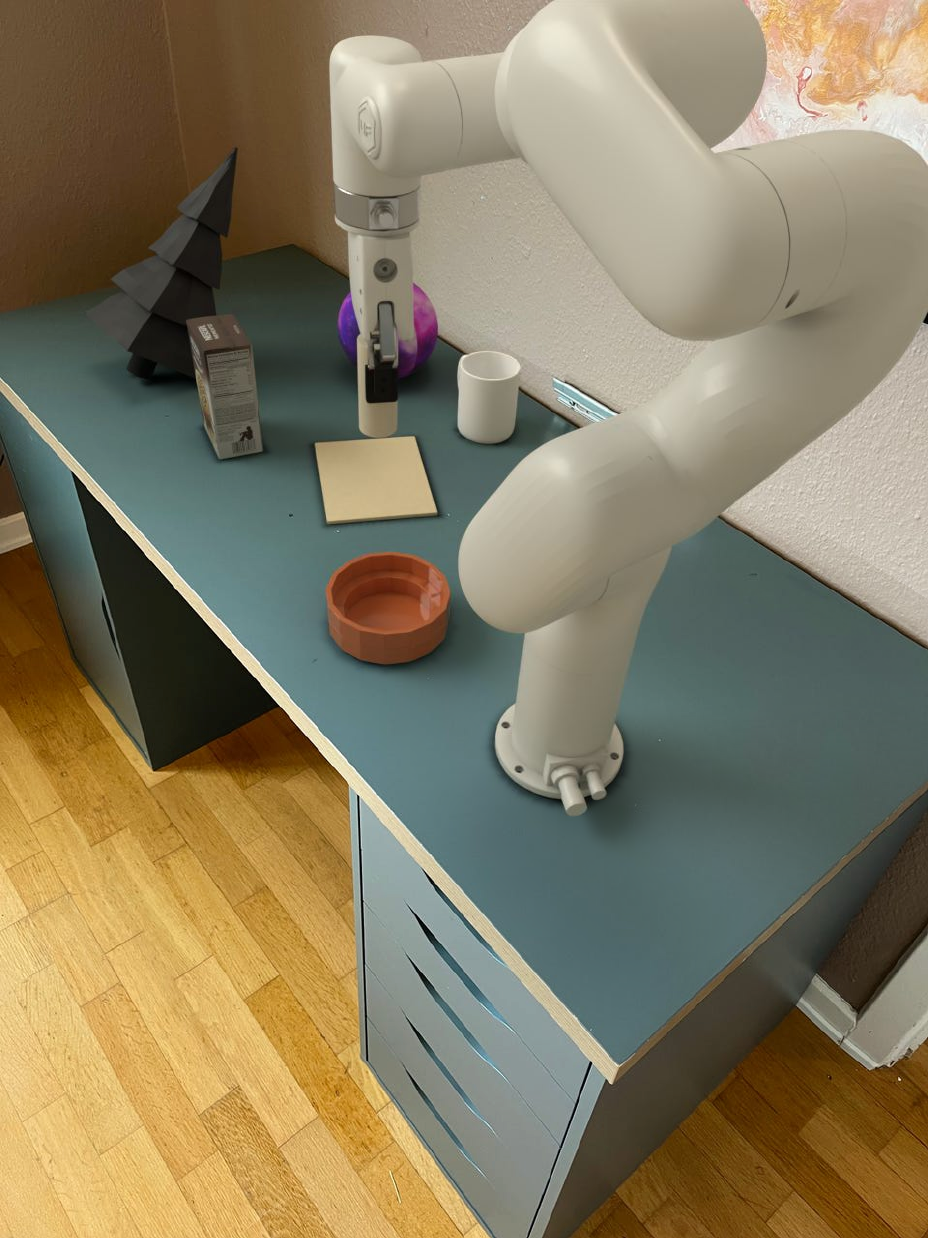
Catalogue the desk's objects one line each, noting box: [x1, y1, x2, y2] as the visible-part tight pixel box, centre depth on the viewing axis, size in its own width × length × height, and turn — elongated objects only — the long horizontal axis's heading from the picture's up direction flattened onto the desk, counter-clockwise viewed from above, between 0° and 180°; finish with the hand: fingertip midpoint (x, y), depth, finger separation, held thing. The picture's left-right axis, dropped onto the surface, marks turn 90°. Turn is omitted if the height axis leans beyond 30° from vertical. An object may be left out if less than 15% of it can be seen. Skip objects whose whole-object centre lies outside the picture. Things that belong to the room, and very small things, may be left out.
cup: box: [456, 350, 522, 445], centre depth 131 cm, size 8×12×10 cm
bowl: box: [325, 551, 451, 665], centre depth 101 cm, size 13×13×5 cm
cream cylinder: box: [357, 331, 399, 439], centre depth 93 cm, size 4×4×10 cm
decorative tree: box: [84, 146, 239, 381], centre depth 133 cm, size 15×15×35 cm
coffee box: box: [186, 313, 264, 460], centre depth 122 cm, size 9×6×16 cm
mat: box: [314, 435, 438, 525], centre depth 122 cm, size 18×14×1 cm
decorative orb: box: [337, 282, 439, 380], centre depth 138 cm, size 15×15×15 cm
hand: (378, 387), depth 93 cm, fingers closed on cream cylinder, 4 cm apart
